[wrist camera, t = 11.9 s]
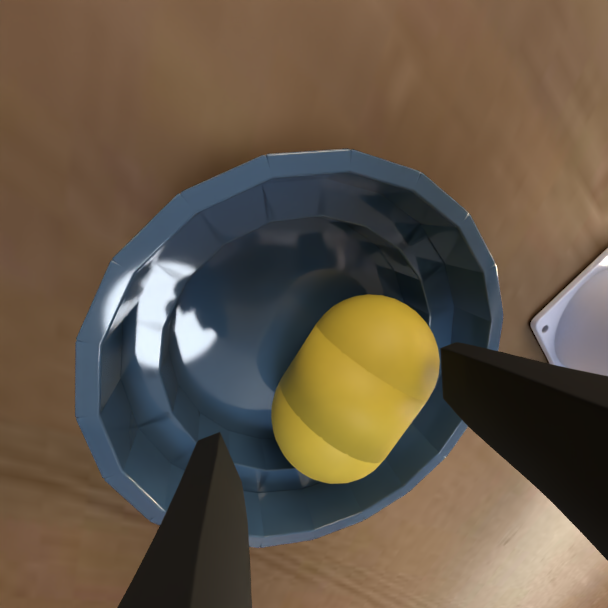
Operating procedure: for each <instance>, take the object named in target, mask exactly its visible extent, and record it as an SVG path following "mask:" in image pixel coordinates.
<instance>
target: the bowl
mask: <svg viewBox="0 0 608 608" xmlns="http://www.w3.org/2000/svg"><path fill="white" fill-rule="evenodd" d="M367 294H372V295H383V296H387V297H390V298H394V299H396V300H398V301H400V302H402V303H404V304H406V305H408V306H409V307H410V308H412V309H413V310H415V311H416V312H417V313H418V314H419V315H420V316H421V317H422V318H423V320H424V321H425V322H426V323H427V325H428V326H429V328H430V330H431V331H432V333H433V335H434V338H435V340H436V343H437V346H438V352H439V359H440V365H439V375H438V379H437V382H436V385H435V388H434V390H433V392H432V393H431V395H430V397H429V399H428V401H427V402H426V403H425V405H424V406H423V407H422V409H421V410H420V412H419V413H418V414H417V416H416V417H415V418H414V420H413V421H412V423H411V424H410V425H409V427H408V428H407V429H406V431H405V432H404V434H403V435H402V436H401V438H400V439H399V440H398V442H397V443H396V445H395V446H394V447H393V449H392V450H391V451H390V453H389V454H388V456H387V457H386V458H385V460H384V461H383V462H382V463H381V464H380V465H379V466H378V467H377V468H376V469H375V470H374V471H373V472H371V473H370V474H368V475H367V476H365V477H363V478H361V479H358V480H356V481H352V482H349V483H338V484H329V483H324V482H320V481H317V480H314V479H312V478H309V477H307V476H306V475H304V474H302V473H301V472H300V471H298V470H297V469H296V468H295V467H294V466H293V465H291V463H290V462H289V461H288V460H287V459H286V458H285V456H284V455H283V453H282V451H281V449H280V447H279V445H278V443H277V441H276V439H275V436H274V432H273V427H272V419H271V411H272V402H273V398H274V394H275V391H276V388H277V386H278V384H279V382H280V380H281V378H282V376H283V375H284V373H285V372H286V370H287V369H288V367H289V366H290V364H291V362H292V361H293V359H294V358H295V356H296V355H297V353H298V351H299V350H300V348H301V347H302V345H303V344H304V342H305V341H306V339H307V337H308V336H309V334H310V333H311V331H312V330H313V328H314V327H315V325H316V323H317V322H318V321H319V320H320V318H321V317H322V316H323V315H324V314H325V313H326V312H327V311H328V310H329V309H330V308H332V307H333V306H334V305H336V304H338V303H340V302H341V301H343V300H345V299H348V298H351V297H354V296H359V295H367ZM502 323H503V308H502V301H501V294H500V287H499V280H498V273H497V266H496V264H495V261H494V259H493V257H492V255H491V253H490V251H489V249H488V248H487V246H486V244H485V242H484V240H483V238H482V236H481V234H480V232H479V230H478V228H477V226H476V225H475V223H474V221H473V219H472V217H471V215H470V214H469V213H468V211H466V210H465V209H464V208H463V207H462V206H461V205H459V204H458V203H457V202H456V201H455V200H454V199H452V198H451V197H450V196H449V195H448V194H447V193H445V192H444V191H443V190H442V189H441V188H440V187H438V186H437V185H436V184H435V183H434V182H433V181H431V180H430V179H429V178H428V177H427V176H426V175H424V174H423V173H422V172H420V171H418V170H415V169H412V168H409V167H406V166H403V165H400V164H397V163H394V162H391V161H388V160H385V159H382V158H379V157H376V156H372V155H369V154H366V153H363V152H360V151H357V150H354V149H351V150H350V149H348V148H347V149H331V150H315V151H300V152H284V153H268V154H266V155H261V156H259V157H257V158H254V159H252V160H250V161H248V162H245V163H243V164H241V165H239V166H237V167H234V168H232V169H230V170H228V171H225V172H223V173H221V174H219V175H217V176H214V177H212V178H210V179H208V180H205V181H203V182H201V183H199V184H197V185H194V186H192V187H190V188H188V189H185V190H183V191H182V192H181V194H180V193H179V194H177V195H176V196H175V197H174V198H173V199H172V200H171V201H170V202H169V203H168V204H167V205H166V206H165V207H164V208H163V209H162V210H161V211H160V212H159V213H158V214H157V215H156V216H155V217H154V218H153V219H152V220H151V221H149V222H148V223H147V224H146V225H145V226H144V227H143V228H142V229H141V230H140V231H139V232H138V233H137V234H136V235H135V236H134V237H133V238H132V239H131V240H130V241H129V242H128V243H127V244H126V245H125V246H124V247H123V248H122V249H121V250H120V251H119V252H118V253H117V254H116V255H115V256H114V257H113V259H112V260H111V261H110V263H109V265H108V268H107V270H106V272H105V274H104V277H103V279H102V281H101V283H100V286H99V288H98V290H97V292H96V295H95V297H94V299H93V301H92V304H91V306H90V308H89V310H88V313H87V315H86V317H85V320H84V322H83V324H82V326H81V329H80V331H79V333H78V335H77V338H76V352H75V417H76V420H77V422H78V425H79V427H80V429H81V431H82V433H83V436H84V438H85V440H86V442H87V444H88V447H89V449H90V451H91V453H92V456H93V458H94V460H95V462H96V464H97V467H98V469H99V471H100V473H101V475H102V478H104V480H105V481H106V482H107V483H108V484H109V485H110V486H111V487H112V488H113V489H115V490H116V491H117V492H118V493H119V494H120V495H121V496H122V497H123V498H125V499H126V500H127V501H128V502H129V503H130V504H131V505H132V506H133V507H134V508H136V509H137V510H138V511H139V512H140V513H141V514H142V515H143V516H144V517H145V518H147V519H148V520H149V521H150V522H152V523H155V524H157V525H161V523H162V520H163V518H164V516H165V514H166V512H167V510H168V507H169V505H170V503H171V501H172V499H173V497H174V494H175V492H176V490H177V488H178V485H179V483H180V481H181V478H182V476H183V474H184V471H185V469H186V467H187V464H188V462H189V460H190V457H191V455H192V452H193V450H194V448H195V445H196V443H197V442H198V440H200V439H203V438H205V437H208V436H211V435H213V434H216V433H218V432H220V433H221V435H222V437H223V440H224V442H225V444H226V447H227V449H228V451H229V454H230V456H231V458H232V460H233V463H234V465H235V467H236V470H237V472H238V474H239V477H240V479H241V481H242V486H243V493H244V499H245V506H246V513H247V520H248V536H249V547H254V548H259V547H260V548H263V547H270V546H277V545H283V544H290V543H296V542H303V541H309V540H314V539H317V538H320V537H322V536H325V535H328V534H330V533H333V532H335V531H338V530H341V529H343V528H346V527H349V526H351V525H354V524H356V523H359V522H362V521H363V520H366V519H367V518H369V517H371V516H372V515H374V514H375V513H377V512H378V511H380V510H382V509H383V508H385V507H386V506H388V505H390V504H391V503H393V502H394V501H396V500H398V499H399V498H401V497H402V496H404V495H405V494H407V493H408V492H410V491H411V490H412V489H413V488H414V487H415V486H416V485H417V484H418V483H419V482H420V481H421V480H422V479H423V478H425V477H426V476H427V475H428V474H429V473H430V472H431V471H432V470H433V469H434V468H435V467H436V466H437V465H438V464H439V463H440V462H442V461H443V460H444V459H445V457H447V456H448V454H449V453H450V451H451V450H452V449H453V447H454V446H455V444H456V443H457V441H458V440H459V439H460V437H461V436H462V434H463V433H464V432H465V430H466V429H467V427H468V426H467V425H466V424H465V423H464V422H463V420H462V419H461V418H460V417H459V416H458V415H457V414H456V413H455V412H454V410H453V409H452V408H451V407H450V406H449V405H448V403H447V402H446V401H445V400H444V399H443V390H442V371H441V351H440V348H442V347H445V346H447V345H450V344H453V343H455V342H459V343H464V344H469V345H474V346H478V347H482V348H487V349H491V350H495V351H498V349H499V342H500V336H501V329H502Z"/></svg>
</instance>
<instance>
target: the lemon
mask: <svg viewBox="0 0 608 608" xmlns="http://www.w3.org/2000/svg"><path fill="white" fill-rule="evenodd" d="M439 365H440V359H439V352H438V346H437V343H436V340H435V338H434V335H433V333H432V331H431V330H430V328H429V326H428V325H427V323H426V322H425V321H424V320H423V318H422V317H421V316H420V315H419V314H418V313H417V312H416V311H415V310H413V309H412V308H410V307H409V306H408V305H406V304H404V303H402V302H400V301H398V300H396V299H394V298H390V297H387V296H383V295H372V294H367V295H359V296H354V297H351V298H348V299H345V300H343V301H341V302H340V303H338V304H336V305H334V306H333V307H332V308H330V309H329V310H328V311H327V312H326V313H325V314H324V315H323V316H322V317H321V318H320V320H319V321H318V322H317V323H316V325H315V327H314V328H313V330H312V331H311V333H310V334H309V336H308V337H307V339H306V341H305V342H304V344H303V345H302V347H301V348H300V350H299V351H298V353H297V355H296V356H295V358H294V359H293V361H292V362H291V364H290V366H289V367H288V369H287V370H286V372H285V373H284V375H283V376H282V378H281V380H280V382H279V384H278V386H277V388H276V391H275V394H274V398H273V402H272V411H271V419H272V427H273V432H274V436H275V439H276V441H277V443H278V445H279V447H280V449H281V451H282V453H283V455H284V456H285V458H286V459H287V460H288V461H289V462H290V463H291V465H293V466H294V467H295V468H296V469H297V470H298V471H300V472H301V473H302V474H304V475H306V476H307V477H309V478H312V479H314V480H317V481H320V482H324V483H329V484H338V483H349V482H352V481H356V480H358V479H361V478H363V477H365V476H367V475H368V474H370V473H371V472H373V471H374V470H375V469H376V468H377V467H378V466H379V465H380V464H381V463H382V462H383V461H384V460H385V458H386V457H387V456H388V454H389V453H390V451H391V450H392V449H393V447H394V446H395V445H396V443H397V442H398V440H399V439H400V438H401V436H402V435H403V434H404V432H405V431H406V429H407V428H408V427H409V425H410V424H411V423H412V421H413V420H414V418H415V417H416V416H417V414H418V413H419V412H420V410H421V409H422V407H423V406H424V405H425V403H426V402H427V401H428V399H429V397H430V395H431V393H432V392H433V390H434V388H435V385H436V382H437V379H438V375H439Z"/></svg>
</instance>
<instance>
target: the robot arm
mask: <svg viewBox="0 0 608 608" xmlns="http://www.w3.org/2000/svg"><path fill="white" fill-rule="evenodd" d="M531 328H532V330H533V332H534V334H535V336H536V338H537V340H538V342H539V344H540V346H541V348H542V350H543V352H544V353H545V355H546V357H547V359H548V361H549V363H550V364H548V363H544V362H540V361H535V360H531V359H527V358H523V357H519V356H515V355H511V354H507V353H503V352H499V351H495V350H491V349H487V348H482V347H478V346H474V345H469V344H464V343H459V342H455V343H453V344H450V345H447V346H445V347H442V348H440V351H441V371H442V390H443V399H444V400H445V401H446V402H447V403H448V405H449V406H450V407H451V408H452V409H453V410H454V412H455V413H456V414H457V415H458V416H459V417H460V418H461V419H462V420H463V422H464V423H465V424H466V425H467V426H468V427H470V428H471V429H472V430H473V431H474V432H475V433H476V434H477V435H478V436H479V437H481V438H482V439H483V440H484V441H485V442H486V443H487V444H488V445H489V446H491V447H492V448H493V449H494V450H495V451H496V452H497V453H498V454H500V455H501V456H502V457H503V458H504V459H505V460H506V461H507V462H509V463H510V464H511V465H512V466H513V467H514V468H515V469H517V470H518V471H519V472H520V473H521V474H522V475H523V476H524V477H526V478H527V479H528V480H529V481H530V482H531V483H532V484H533V485H535V486H536V487H537V488H538V489H539V490H540V491H541V492H542V493H543V494H544V495H545V496H546V497H547V498H548V499H549V500H550V501H551V502H552V503H553V504H554V505H555V506H556V507H557V508H558V509H559V510H560V511H561V512H562V513H563V514H564V515H565V516H566V517H567V518H568V519H569V520H570V521H571V522H572V523H573V524H574V525H575V526H576V527H577V528H578V529H579V530H580V532H581V533H582V534H583V535H584V536H585V537H586V538H587V539H588V540H589V541H590V542H591V543H592V544H593V545H594V546H595V547H596V549H597V550H598V551H599V552H600V553H601V554H602V555H603V556H604V557H605V558H606V559H607V560H608V248H607V249H606V250H605V251H604V252H603V253H601V254H600V255H599V256H598V257H597V258H596V259H595V260H594V261H593V262H592V263H591V264H590V265H589V266H588V267H587V268H586V269H585V270H583V271H582V272H581V273H580V274H579V275H578V276H577V277H576V278H575V279H574V280H573V281H572V282H571V283H570V284H569V285H568V286H567V287H566V288H564V289H563V290H562V291H561V292H560V293H559V294H558V295H557V296H556V297H555V298H554V299H553V300H552V301H551V302H550V303H549V304H548V305H546V306H545V307H544V308H543V309H542V310H541V311H540V312H539V313H538V314H537V315H536V316H535V317H534V318H533V319H532V321H531ZM118 608H252V600H251V578H250V556H249V536H248V520H247V513H246V506H245V499H244V493H243V486H242V481H241V479H240V477H239V474H238V472H237V470H236V467H235V465H234V463H233V460H232V458H231V456H230V454H229V451H228V449H227V447H226V444H225V442H224V440H223V437H222V435H221V433H220V432H218V433H216V434H213V435H211V436H208V437H205V438H203V439H200V440H198V442H197V443H196V445H195V448H194V450H193V452H192V455H191V457H190V460H189V462H188V464H187V467H186V469H185V471H184V474H183V476H182V478H181V481H180V483H179V485H178V488H177V490H176V492H175V494H174V497H173V499H172V501H171V503H170V505H169V507H168V510H167V512H166V514H165V516H164V518H163V520H162V523H161V525H160V527H159V529H158V531H157V533H156V535H155V537H154V539H153V541H152V543H151V545H150V547H149V549H148V551H147V553H146V555H145V557H144V559H143V561H142V563H141V565H140V567H139V568H138V570H137V572H136V574H135V576H134V578H133V580H132V582H131V584H130V586H129V588H128V589H127V591H126V593H125V595H124V597H123V599H122V600H121V602H120V604H119V606H118Z"/></svg>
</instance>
